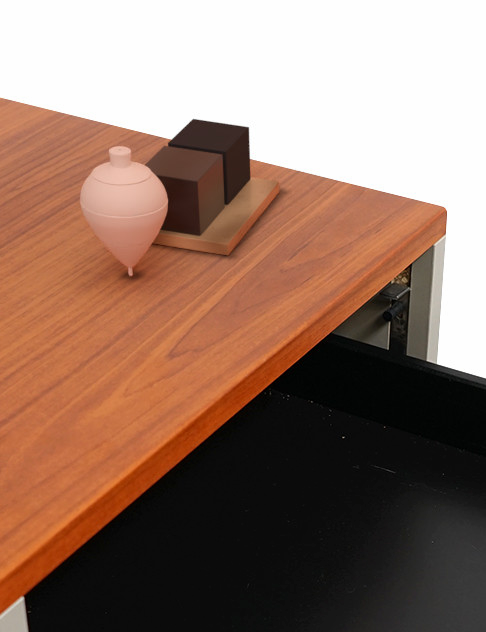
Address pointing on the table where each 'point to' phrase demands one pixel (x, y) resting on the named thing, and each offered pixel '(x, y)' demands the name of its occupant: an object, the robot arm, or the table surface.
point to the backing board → (228, 220)
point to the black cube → (220, 150)
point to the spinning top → (124, 206)
